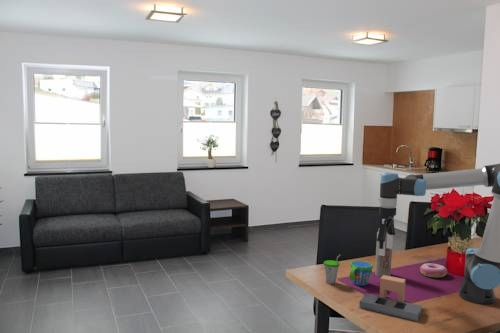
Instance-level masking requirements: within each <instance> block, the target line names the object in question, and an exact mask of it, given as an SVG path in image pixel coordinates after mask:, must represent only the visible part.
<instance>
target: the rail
mask: <svg viewBox="0 0 500 333" xmlns="http://www.w3.org/2000/svg"><path fill="white" fill-rule="evenodd" d="M358 306H359V309H364V310H368V311H372V312H377V313H380V314H384V315H389V316H391V317H397V318H401V319H406V320H410V321H413V322H414V321H415V322H419V320H420V317H421V314H422V312H423V306H422V305H420V304H416V303H412V302H406V301H404V302H403V301H398V299H393V298H388V297H386V298H384V297H380V296H378V295H374V294H370V293H365V294H364V295H363V297H362V298H361V299H360V300H359V305H358Z"/></svg>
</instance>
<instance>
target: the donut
mask: <svg viewBox="0 0 500 333" xmlns="http://www.w3.org/2000/svg"><path fill="white" fill-rule="evenodd" d="M419 272H420V273H421V274H422V275H423V276H425V277H429V278H432V279H433V278H434V279H440V278H444V277H445V276H447V275H448V269H447V268H446V267H445V266H444V265H441V264H438V263H430V262H429V263H428V262H427V263H423V264H422V265H421V266H420V267H419Z"/></svg>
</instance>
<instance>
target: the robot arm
mask: <svg viewBox="0 0 500 333" xmlns="http://www.w3.org/2000/svg"><path fill="white" fill-rule="evenodd" d="M380 176H381V177H380V183H379V184H380V186H379V187H380V188H379V189H380V190H379V198H378V201H379V209H378V214H379V215H380V216H382V218H380V223H379V224H380V225H379V228H378V229H379V230H378V232H379V233H378V239H377V238H376V242H377V241H379V247H378V255H381V256H385V237H386V233H387V232H388V234H387V245H386V248H390V249H392V250H393V248H394V247H393V246H394V236H395V235H396V231H395V230H396V229H395V220H394V219H395V218H394V217H395V216H396V215H397V205H398V204H397V203H398V196H399V195H403V196H416V197H425V195H426V194H427V193H426V192H427V191H428V190H429V191H430V190H437V189H438V190H439V189H451V188H463V187H465V188H466V187H476V186H484V187H485V188H491V194H492V196H493V201H492V202H491V207H490V211H489V214H488V218H487V221H486V224H485V228H484V232H483V236H482V239H481V242H480V246H479V248H475V247H469V248H467V249H466V252H465V254H464V255H465V260H464V262H465V263H464V274H463V275H464V277H463V281H462V282H461V285H460V287H459V289H458V295H459V297H460V298H461V299H463V300H465V301H468V302H471V303H475V304H481V305H482V304H483V305H489V304H494V303H496V302H495V301H496V293H495V290H494V289H496V288H498V286H500V163H495V164H489V165H488V164H487V165H483V166H482V167H481V168H471V169H463V170H461V169H460V170H452V171H450V170H449V171H441V172H433V173H422V174H414V173H413V174H408V175H406V176H405V177H399V174H398V173H397V172H382V173H381V175H380ZM381 238H382V239H381Z"/></svg>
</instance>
